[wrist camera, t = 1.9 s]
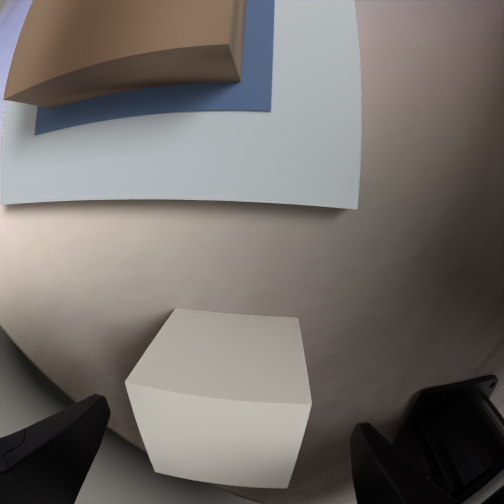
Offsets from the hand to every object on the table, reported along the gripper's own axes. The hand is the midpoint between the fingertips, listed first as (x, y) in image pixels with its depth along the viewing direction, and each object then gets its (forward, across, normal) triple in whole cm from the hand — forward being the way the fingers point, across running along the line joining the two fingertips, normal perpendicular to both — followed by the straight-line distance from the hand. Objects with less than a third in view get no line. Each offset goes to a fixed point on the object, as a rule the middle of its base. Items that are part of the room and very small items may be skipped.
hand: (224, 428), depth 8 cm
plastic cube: (+4, 0, 0) cm, 4 cm away
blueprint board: (+4, +4, -15) cm, 16 cm away
